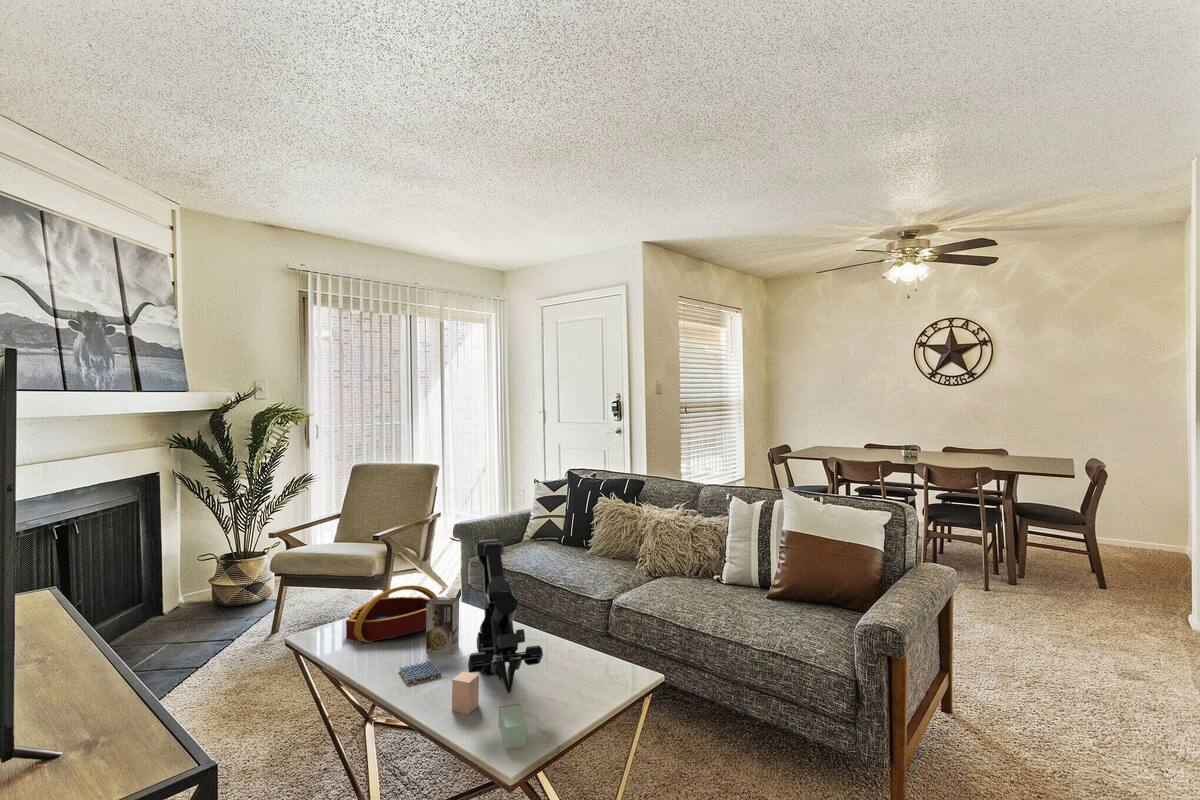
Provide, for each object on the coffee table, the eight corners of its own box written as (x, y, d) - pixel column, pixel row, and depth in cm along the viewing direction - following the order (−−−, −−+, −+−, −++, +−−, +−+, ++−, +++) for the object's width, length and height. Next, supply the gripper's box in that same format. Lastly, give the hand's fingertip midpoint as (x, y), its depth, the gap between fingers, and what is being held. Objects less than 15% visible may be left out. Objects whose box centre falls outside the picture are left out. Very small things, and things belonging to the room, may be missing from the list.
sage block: (499, 706, 143) (505, 727, 134) (519, 703, 145) (526, 724, 135) (498, 726, 143) (505, 749, 133) (518, 723, 145) (526, 745, 135)
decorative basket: (418, 613, 227) (415, 575, 229) (464, 620, 209) (460, 578, 211) (333, 640, 201) (330, 597, 203) (376, 651, 183) (373, 602, 185)
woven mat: (407, 688, 163) (407, 681, 163) (397, 674, 172) (397, 667, 172) (443, 679, 169) (443, 672, 169) (431, 666, 177) (432, 659, 177)
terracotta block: (462, 701, 155) (462, 671, 155) (478, 704, 154) (479, 674, 154) (451, 710, 150) (452, 679, 151) (468, 713, 149) (469, 682, 149)
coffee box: (459, 646, 191) (460, 597, 191) (452, 654, 184) (453, 604, 185) (432, 645, 192) (433, 596, 192) (425, 653, 185) (425, 602, 186)
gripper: (470, 622, 147) (474, 685, 136) (541, 614, 153) (551, 675, 142) (466, 641, 154) (470, 703, 143) (535, 633, 160) (543, 692, 149)
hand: (509, 692), depth 144 cm, fingers closed
